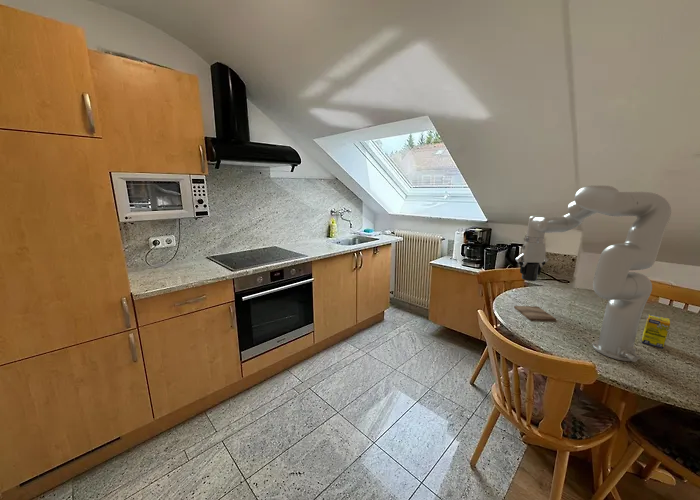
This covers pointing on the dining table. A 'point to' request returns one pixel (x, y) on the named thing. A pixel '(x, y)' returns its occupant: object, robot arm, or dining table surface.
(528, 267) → the supplement bottle
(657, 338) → the supplement box
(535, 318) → the walnut board
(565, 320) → the dining table surface
